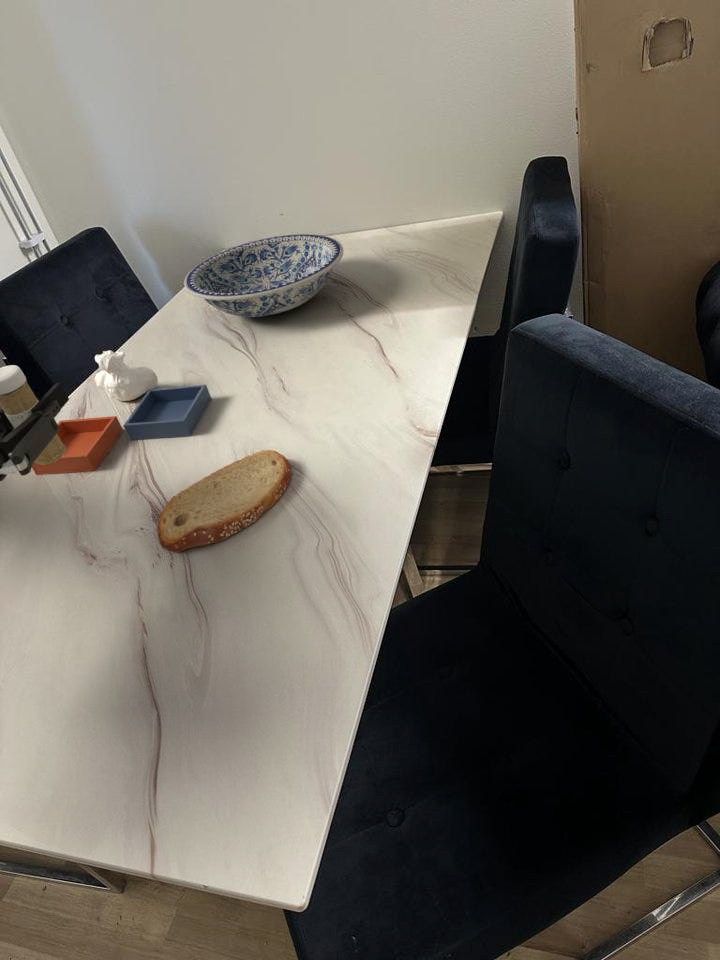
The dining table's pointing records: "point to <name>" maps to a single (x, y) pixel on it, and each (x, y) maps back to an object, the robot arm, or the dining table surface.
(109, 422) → the terracotta tray
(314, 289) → the ceramic bowl
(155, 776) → the dining table surface
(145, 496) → the dining table surface
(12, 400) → the sprinkles bottle
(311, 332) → the dining table surface
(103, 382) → the white animal figurine
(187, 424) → the slate tray
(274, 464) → the slice of bread
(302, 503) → the dining table surface
